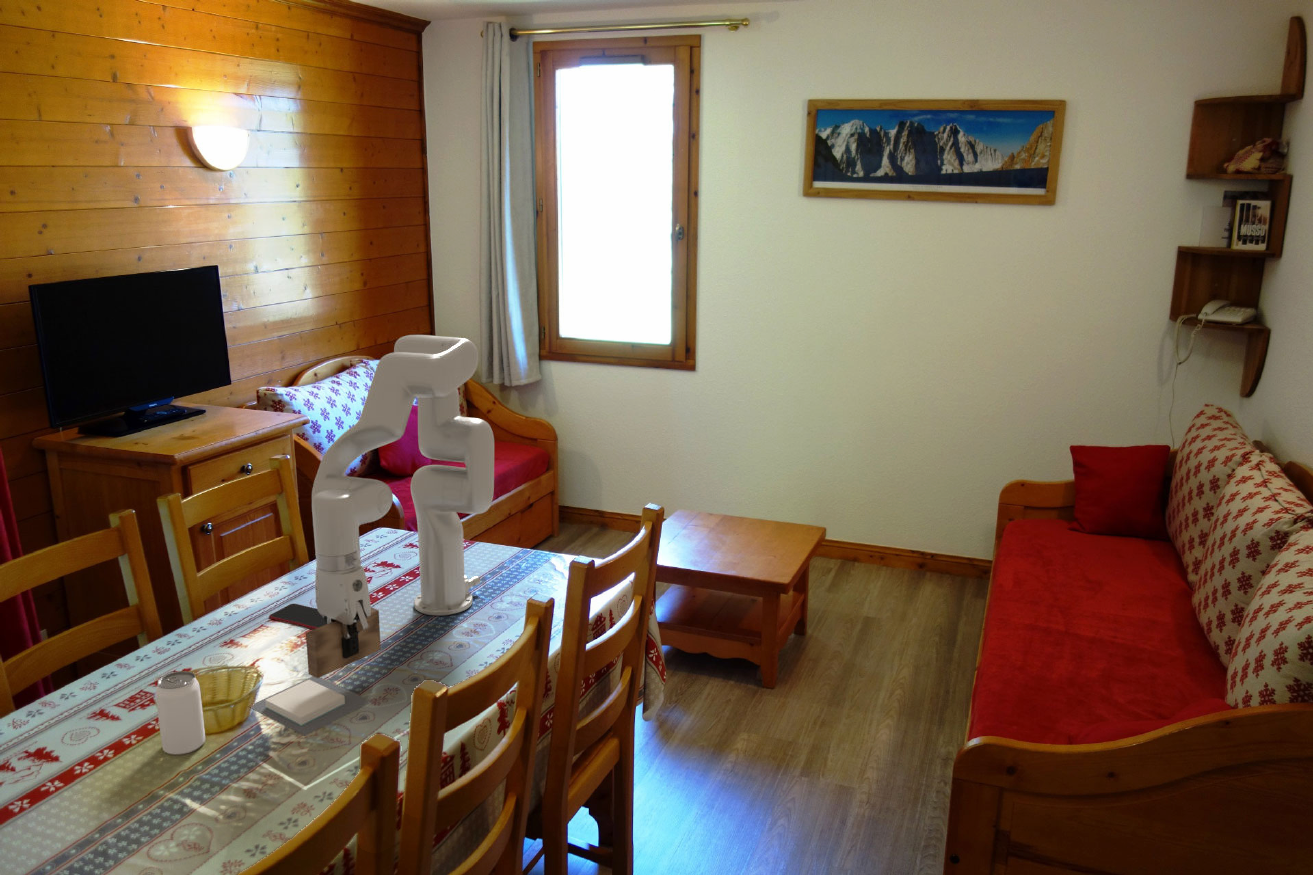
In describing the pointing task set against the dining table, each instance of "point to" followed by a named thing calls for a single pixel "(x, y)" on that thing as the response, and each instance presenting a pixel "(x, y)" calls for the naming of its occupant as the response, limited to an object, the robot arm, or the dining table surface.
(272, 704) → the tile
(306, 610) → the smartphone
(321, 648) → the wooden plank piece
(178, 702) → the can
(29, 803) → the dining table surface
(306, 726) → the mat
